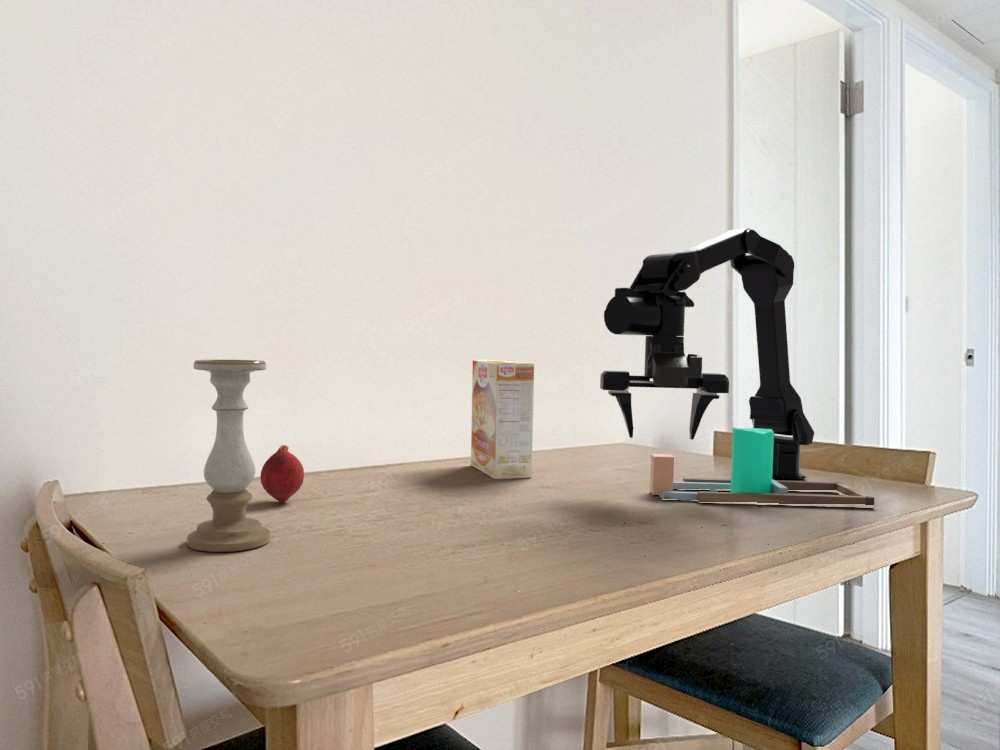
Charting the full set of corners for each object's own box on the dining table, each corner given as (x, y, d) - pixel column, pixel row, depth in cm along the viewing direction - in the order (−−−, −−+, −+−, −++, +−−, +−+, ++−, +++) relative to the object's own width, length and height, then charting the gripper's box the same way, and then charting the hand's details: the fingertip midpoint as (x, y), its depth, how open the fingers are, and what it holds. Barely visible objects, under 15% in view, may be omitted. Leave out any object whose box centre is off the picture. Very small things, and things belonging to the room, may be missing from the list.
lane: (682, 487, 129) (683, 477, 129) (840, 492, 128) (840, 482, 128) (699, 503, 116) (699, 492, 116) (874, 508, 115) (874, 497, 115)
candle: (729, 499, 120) (731, 419, 119) (731, 492, 126) (734, 416, 125) (771, 503, 118) (774, 422, 117) (771, 495, 124) (774, 418, 123)
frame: (646, 488, 128) (648, 450, 127) (768, 491, 127) (769, 454, 127) (656, 500, 118) (657, 459, 118) (787, 504, 117) (788, 463, 117)
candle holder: (241, 529, 95) (242, 359, 94) (286, 542, 90) (287, 361, 89) (171, 543, 88) (172, 359, 87) (215, 558, 83) (216, 362, 82)
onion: (291, 507, 108) (292, 448, 107) (252, 505, 109) (253, 446, 108) (310, 499, 113) (311, 443, 113) (272, 497, 114) (273, 441, 114)
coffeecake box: (469, 465, 147) (471, 359, 146) (506, 464, 149) (508, 359, 148) (492, 479, 133) (495, 362, 132) (533, 478, 135) (536, 362, 134)
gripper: (608, 334, 114) (604, 443, 115) (740, 337, 113) (736, 447, 114) (601, 335, 125) (598, 434, 126) (721, 337, 124) (718, 437, 125)
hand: (661, 438), depth 122 cm, fingers open, 9 cm apart
